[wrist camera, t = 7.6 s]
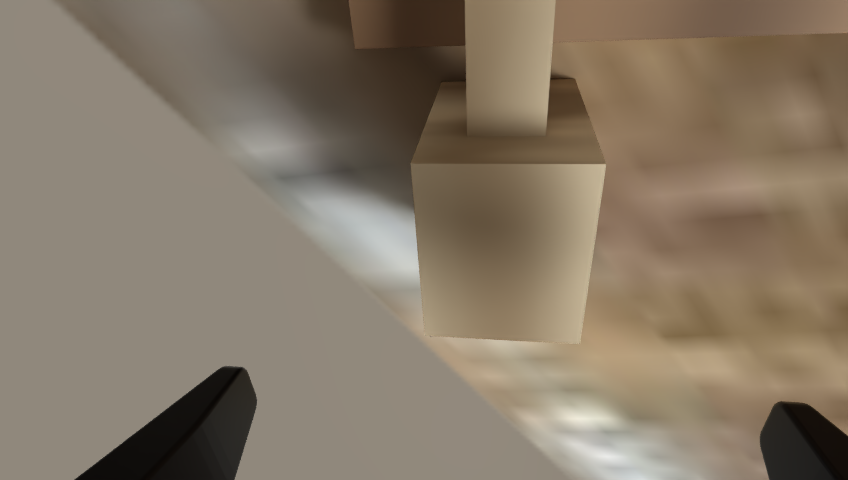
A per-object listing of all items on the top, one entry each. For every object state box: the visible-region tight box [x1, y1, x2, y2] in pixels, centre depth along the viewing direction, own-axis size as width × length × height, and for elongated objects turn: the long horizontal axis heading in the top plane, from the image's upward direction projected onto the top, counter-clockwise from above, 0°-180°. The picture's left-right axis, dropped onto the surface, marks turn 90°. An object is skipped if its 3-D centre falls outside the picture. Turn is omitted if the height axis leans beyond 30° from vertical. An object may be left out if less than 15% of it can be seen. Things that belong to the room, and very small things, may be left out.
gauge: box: [411, 0, 606, 344], centre depth 12 cm, size 4×14×6 cm, turn 3°
